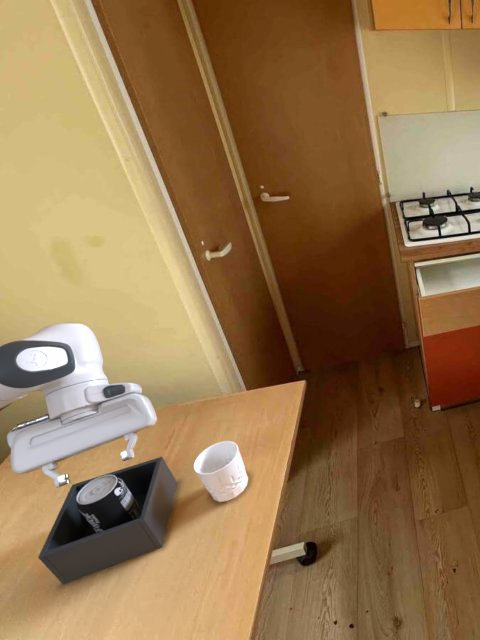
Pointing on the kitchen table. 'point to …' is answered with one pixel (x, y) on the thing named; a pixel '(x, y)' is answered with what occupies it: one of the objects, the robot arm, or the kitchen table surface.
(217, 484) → the white cup
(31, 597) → the kitchen table surface
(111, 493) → the beverage can
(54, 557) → the bin
